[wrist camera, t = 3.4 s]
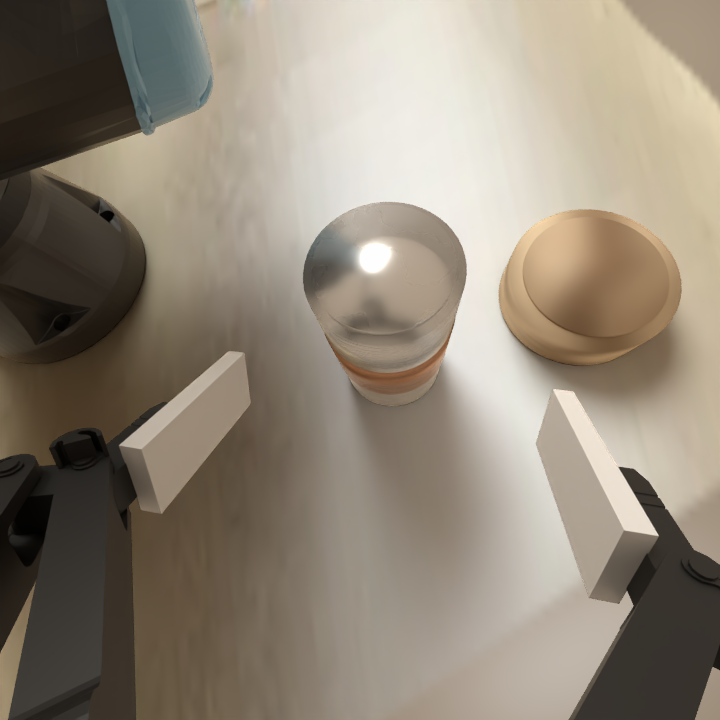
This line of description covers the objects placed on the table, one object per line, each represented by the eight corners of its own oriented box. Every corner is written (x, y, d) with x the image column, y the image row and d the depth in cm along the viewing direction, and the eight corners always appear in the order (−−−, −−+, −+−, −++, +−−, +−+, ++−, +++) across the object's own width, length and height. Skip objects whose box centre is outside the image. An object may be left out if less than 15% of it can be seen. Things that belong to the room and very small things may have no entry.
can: (338, 400, 26) (285, 335, 14) (353, 312, 28) (316, 193, 16) (436, 412, 25) (463, 353, 13) (444, 320, 27) (474, 199, 15)
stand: (495, 357, 26) (508, 340, 23) (501, 233, 29) (512, 203, 25) (656, 373, 24) (693, 357, 21) (645, 241, 27) (676, 210, 24)
